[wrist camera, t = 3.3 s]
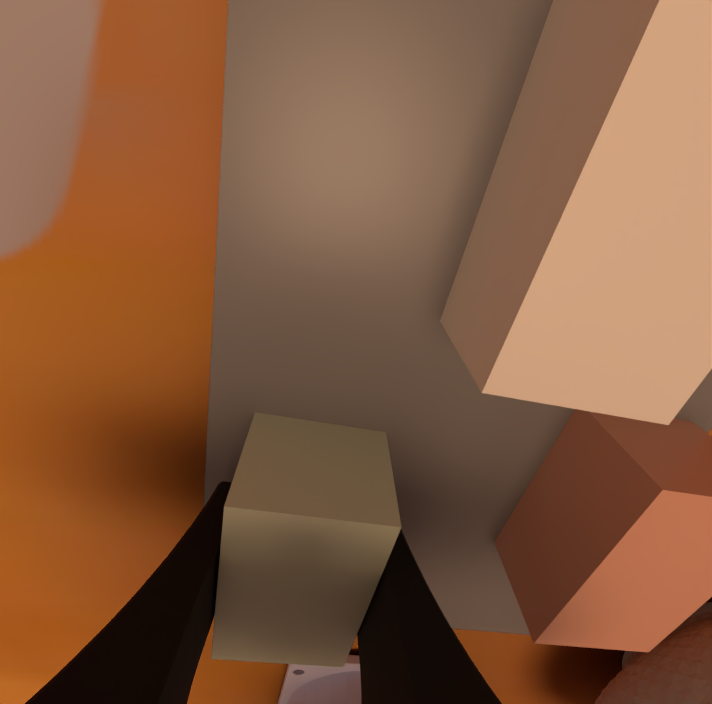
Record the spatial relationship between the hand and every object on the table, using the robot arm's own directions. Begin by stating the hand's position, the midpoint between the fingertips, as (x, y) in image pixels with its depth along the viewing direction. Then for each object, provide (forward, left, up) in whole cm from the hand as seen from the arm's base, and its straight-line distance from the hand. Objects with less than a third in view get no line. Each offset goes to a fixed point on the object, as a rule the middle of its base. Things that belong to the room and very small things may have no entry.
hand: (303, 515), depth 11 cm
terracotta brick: (+2, -8, -1) cm, 9 cm away
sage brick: (0, 0, -1) cm, 1 cm away
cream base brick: (+10, -4, -1) cm, 10 cm away
